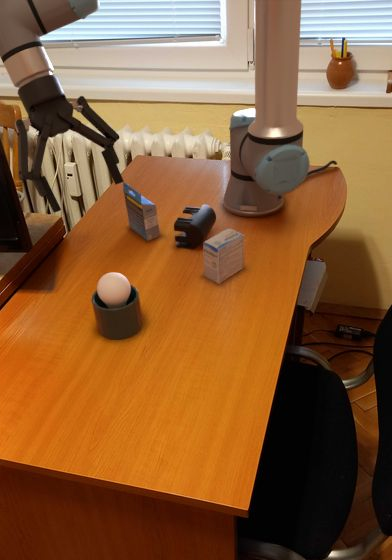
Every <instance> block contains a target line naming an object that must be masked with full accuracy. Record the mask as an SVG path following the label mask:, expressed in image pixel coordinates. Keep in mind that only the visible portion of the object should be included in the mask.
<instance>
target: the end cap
mask: <svg viewBox="0 0 392 560" xmlns="http://www.w3.org/2000/svg"><path fill="white" fill-rule="evenodd" d="M182 214H187V215H191V216H190V217H189V216H188V217H181V216H179V217H177V218H176V220H175V221H174V223H173V231H174V232H182V234H180V233H179V234H174V241H175V242H176V244H175V246H176V248H178V249H185V250H196V249H197V248H199V247H200V246H201V245H203V243H204V242H205V241H206V238H207V236H208V235H209V233H210V232H211V230H212V229H213V227H214V225H215V224H216V222H217V214H216V212H215V210H214V209H213V208H212V207H211V206H210V205H208V204H205V203H203V204H202V205H201V207H196V206H185V207H184V208H183V210H182Z"/></svg>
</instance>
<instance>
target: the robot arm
mask: <svg viewBox="0 0 392 560" xmlns="http://www.w3.org/2000/svg"><path fill="white" fill-rule="evenodd" d="M100 5H101V3H100V0H0V59H1V62H2V64H3V66H4V68H5V70H6V73H7V74H8V76H9V78H10V81H11V83H12V85H13V86H14V87H15V88H17V95H18V98H19V99H20V101H21V103H22V106H23V108H24V110H25V112H26V114H27V118H26V119H20V118H18V119H17V120H15V122H14V123H13V128H14V131H15V134H16V136H17V161H18V162H17V163H18V167H17V168H18V178H19V180H21V181H32V184H33V185H34V187H35V189H36V191H37V193H38V195H39V196H40V197H41V198H44V197H45V198H46V200H47V202H48V204H49V206H50V208H51V210H52V212H53V213H54V214H55V213H58V212H60V211H62V208H61V206H60V205H59V202H58V200H57V197H56V196H55V194H54V192H53V190H52V187H51V186H50V184H49V182H48V179H47V177H46V175H42V176H40V174H41V171H42V165H43V160H44V156H45V152H46V149H47V148H46V147H47V143H48V140H49V138H51V139H53V138H55V137H56V136H58V135H62V134H65V133H67V132H68V131H71V132H75V133H76V134H78V135H80V136H82V137H83V138H85V139H87V140H89V141H90V142H92V143H94V144H96V145H97V146H99V147H100V148H102V149H104V150H101V151H100V152H101V155H102V157H103V160H104V162H105V164H106V167H107V169H108V171H109V173H110V176H111V178H112V181H113V182H114V185H119V184H121V183H123V182H125V181H124V178H123V175H122V174H121V172H120V169H119V166H118V164H120V158H119V157H118V154H117V152H116V150H115V147H114V145H115V143H117V141H118V140H120V134H119V133H118V132H117V131H115V130H114V129H113V127H112V126H110V124H108V123H107V122H106V121H105V120H104V119H103V118H102V117H101V116H100V114H98V113H97V112H96V111H95V110H94V109H93V108H92V107H91V106H90V105H89V102H88V100H87V99H86V97H85V96H83V95H80V96H78V97H77V99H75V100H73V101H71V102H70V101H69V100H68V98H67V97H66V93H65V91H64V89H63V87H62V85H61V82H60V80H59V78H58V75H56V74H53V73H54V71H55V70H54V67H53V64H52V62H51V60H50V58H49V56H48V54H47V51H46V49H45V47H44V45H43V43H42V41H41V37H43V36H46V35H49V33H52V32H55V31H56V30H59V29H61V28H63V27H67V26H68V25H72V24H73V23H75V22H78V21H80V20H85V19H86V18H87V17H89V16H90V15H92V14H94V13H96V12H97V11H99V9H100ZM301 19H302V0H254V108H247V109H242V110H238V111H236V112H234V113H233V114H232V115H231V116H230V119H229V127H228V129H229V152H230V153H229V154H230V156H229V157H230V161H229V162H230V163H229V164H230V176H229V179H228V182H227V186H226V188H225V192H224V194H223V195H224V196H223V206H224V208H225V210H227V211H228V212H229V213H231V214H233V215H236V216H239V217H245V218H262V217H266V216H267V217H268V216H271V215H274V214H276V213H277V212H279V211H280V210H281V209H282V208H283V207H284V202H285V201H284V195H286V194H289V193H291V192H294V191H295V190H296V189H297V188H299V186H300V185H301V184H303V182H304V181H305V180H306V178H307V176H309V175H312V174H315V173H319V172H321V171H324V170H326V169H327V168H329V167H330V166H331V165H335V166H336V165H338V162H337V161H336V160H330V161H328V162H327V163H326V164H325V165H323V166H321V167H318V168H315V169H312V170H310V165H311V164H310V162H311V161H310V157H309V155H308V152H307V151H306V149H304V148H303V147H304V146H303V143H304V124H303V122H302V121H301V120H300V119H299V118H298V117H297V112H298V89H299V68H300V66H299V65H300V44H301V43H300V42H301V41H300V40H301V22H302V21H301ZM74 110H75V111H76V112H77V113H80V115H81V116H83V118H85V119H86V120H87V121H88V122H89V123H90V124H91V125H92V126H93V127H94V128H95V129H96V130H97V131H96V130H94V129H93V128H91V127H90V126H87V125H86V124H84V123H82V121H81V120H80V119H78V118H77V117H74V116H73V115H74ZM30 127H31V128H33V129H35V130H36V131H37V132H38V133H37V137H36V144H35V149H34V154H33V158H32V163H31V167H30V170H29V139H28V138H29V137H28V132H30Z"/></svg>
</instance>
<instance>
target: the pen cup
mask: <svg viewBox="0 0 392 560" xmlns="http://www.w3.org/2000/svg"><path fill="white" fill-rule="evenodd" d="M130 287H131V291H130V295H129V298H128V300H127V302H126V306H124V307H122V308H116V309H108V307H107V305H106V304H105V303H104V302H103V301H102V300H101V299H100V297H99V295H98V292H97V289H96V290H95V291H94V292H93V294H92V295H91V305H92V309H93V314H94V318H95V323H96V327H97V331H98V333H99V334H100V335H101V336H102V337H103V338H105V339H108V340H113V341H115V340H116V341H119V340H120V341H121V340H125V339H129V338H131V337H133V336H135V335H137V334H138V333H139V332H140V331H141V330H142V328H143V325H144V319H143V313H142V306H141V299H140V293H139V291H138V289H137V287H135V286H134V285H133V284H130Z"/></svg>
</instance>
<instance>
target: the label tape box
mask: <svg viewBox="0 0 392 560" xmlns="http://www.w3.org/2000/svg"><path fill="white" fill-rule="evenodd" d="M122 183H123V184H122V186H123V187H122V189H123V195H124V201H125V207H126V213H127V218H128V224H129V228H130V229H131V230H132V231H134V232H135V233H136V234H137V235H139V236H140V237H142V239H144V240H146V241H147V242H150V241H153V240H155V239H157V238H159V237H161V233H160V232H161V231H160V225H159V217H158V211H157V205H156V204H155V203H153V202H152V201H150V200H149V199H147V198H146V197H145V196H143V195H142V193H141V192H139V191H138V190H136V189H135V188H134V187H133V186H131V185H130V184H128V183H127V182H126V181H124V182H122Z"/></svg>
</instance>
